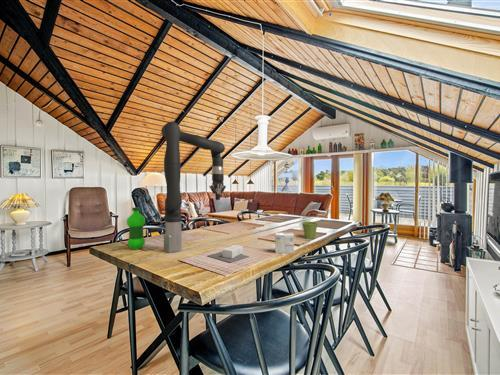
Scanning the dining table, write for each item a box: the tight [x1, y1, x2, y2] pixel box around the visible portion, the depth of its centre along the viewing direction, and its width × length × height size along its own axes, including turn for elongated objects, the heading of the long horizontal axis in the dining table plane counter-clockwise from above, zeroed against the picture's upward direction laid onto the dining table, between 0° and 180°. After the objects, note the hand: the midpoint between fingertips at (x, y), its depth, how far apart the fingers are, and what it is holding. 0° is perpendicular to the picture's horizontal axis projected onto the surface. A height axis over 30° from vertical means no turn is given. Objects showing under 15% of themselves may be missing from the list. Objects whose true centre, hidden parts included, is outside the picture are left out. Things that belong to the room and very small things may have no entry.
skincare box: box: [222, 244, 244, 258], centre depth 138 cm, size 6×4×12 cm
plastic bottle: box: [126, 206, 146, 250], centre depth 155 cm, size 10×10×25 cm
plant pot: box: [301, 221, 319, 240], centre depth 184 cm, size 12×12×11 cm
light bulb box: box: [274, 232, 295, 255], centre depth 146 cm, size 11×7×11 cm, turn 84°
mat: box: [207, 250, 250, 264], centre depth 137 cm, size 14×18×1 cm
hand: (217, 199), depth 165 cm, fingers closed
